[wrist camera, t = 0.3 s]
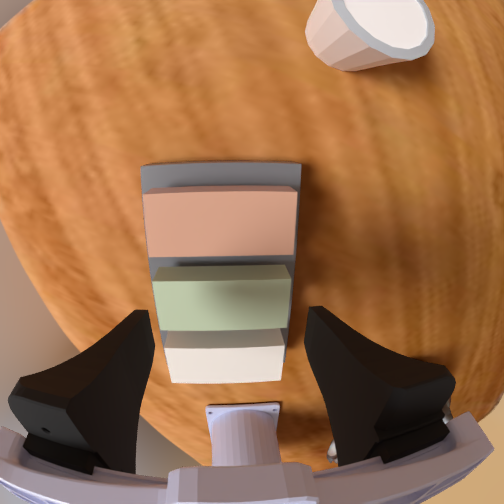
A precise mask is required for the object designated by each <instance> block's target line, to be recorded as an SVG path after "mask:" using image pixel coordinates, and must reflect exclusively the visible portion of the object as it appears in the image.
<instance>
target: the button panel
mask: <svg viewBox="0 0 504 504" xmlns="http://www.w3.org/2000/svg"><path fill="white" fill-rule="evenodd" d="M300 184H301V164H300V163H297V162H289V161H249V160H227V161H187V162H168V163H152V164H146V165H143V166H141V185H142V201H143V194H144V193H146V192H147V191H149V190H150V189H151V188H164V187H188V186H238V185H255V186H290V187H291V188H293V189H294V190H295V191H297V208H296V224H295V239H294V253H293V255H253V256H197V257H149V255H148V260H149V268H150V275H151V282H152V281H153V278H154V276H155V274H156V272H157V270H158V268H159V267H188V266H245V265H285V266H286V268H287V271H288V273H289V275H290V277H291V289H290V300H289V310H288V320H287V328H280V330H281V334H282V337H283V341H284V344H285V349H284V357H283V362H285V357H286V349H287V340H288V332H289V322H290V313H291V303H292V293H293V282H294V271H295V259H296V246H297V233H298V218H299V202H300ZM143 213H144V205H143ZM144 224H145V218H144ZM145 234H146V228H145ZM146 243H147V238H146ZM147 252H148V247H147ZM152 288H153V284H152ZM153 294H154V291H153ZM154 301H155V297H154ZM155 306H156V303H155ZM156 312H157V309H156ZM157 318H158V315H157ZM158 323H159V320H158ZM159 328H160V326H159ZM160 333H161V338H162V343H163V348H164V346H165V342H166V338H167V334H168V330H160ZM164 353H165V350H164ZM165 357H166V355H165ZM166 361H167V359H166ZM167 365H168V364H167Z"/></svg>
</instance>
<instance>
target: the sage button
mask: <svg viewBox="0 0 504 504" xmlns="http://www.w3.org/2000/svg"><path fill="white" fill-rule="evenodd" d="M152 284H153V291H154V297H155V303H156V309H157V315H158V320H159V326H160V330H169V331H218V330H253V329H273V328H287V320H288V310H289V300H290V289H291V277H290V275H289V273H288V271H287V268H286V266H285V265H245V266H188V267H159V268H158V270H157V272H156V274H155V276H154V278H153V281H152Z"/></svg>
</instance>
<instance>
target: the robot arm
mask: <svg viewBox="0 0 504 504" xmlns="http://www.w3.org/2000/svg"><path fill="white" fill-rule="evenodd" d="M304 345H305V349H306V353H307V357H308V361H309V363H310V366H311V368H312V371H313V373H314V376H315V378H316V381H317V383H318V386H319V388H320V390H321V393H322V395H323V398H324V401H325V404H326V408H327V412H328V416H329V420H330V424H331V428H332V433H333V437H334V443H335V448H336V453H337V460H338V467H336V468H332V469H327V470H322V471H317V472H312V470H311V466H308V465H305V464H302V463H298V462H284V463H282V462H281V456H280V451H279V446H278V440H277V435H276V429H277V423H278V416H279V410H280V405H279V403H277V402H274V403H261V404H244V405H209V406H206V415H207V421H208V427H209V432H210V437H211V442H212V466H192V467H181V468H178V469H175V470H173V471H171V472H169V475H168V478H158V477H149V476H142V475H136V471H135V470H136V467H135V466H136V464H135V463H136V462H135V461H136V441H137V430H138V420H139V413H140V407H141V403H142V399H143V395H144V392H145V388H146V385H147V381H148V378H149V374H150V371H151V367H152V363H153V357H154V350H155V342H154V338H153V333H152V328H151V323H150V318H149V313H148V310H134V311H133V312H132V313H131V314H129V315H128V316H127V317H126V318H125V319H124V320H123V321H122V322H120V323H119V324H118V325H117V326H116V327H115V328H114V329H112V330H111V331H110V332H109V333H108V334H106V335H105V336H104V337H103V338H101V339H100V340H99V341H98V342H96V343H95V344H94V345H92V346H91V347H89V348H88V349H86V350H85V351H83V352H82V353H80V354H79V355H77V356H75V357H73V358H71V359H69V360H68V361H65V362H63V363H61V364H59V365H57V366H55V367H52V368H50V369H47V370H44V371H42V372H38V373H35V374H32V375H28V376H24V377H20V379H19V381H18V382H17V384H16V386H15V387H14V389H13V391H12V392H11V394H10V396H9V398H8V403H9V406H10V409H11V410H12V412H13V413H14V415H15V416H16V418H17V419H18V420H19V421H20V423H21V424H22V425H23V427H24V428H25V429H26V430H27V431H28V435H27V438H25V437H24V436H22V435H21V434H19V433H17V432H14V431H12V430H10V429H7V428H5V427H1V429H0V484H1V485H2V486H4V487H5V488H6V489H7V490H9V491H10V492H11V493H13V494H14V495H15V496H17V497H18V498H20V499H22V500H24V501H26V502H28V503H30V504H420V503H422V502H424V501H426V500H428V499H429V498H431V497H433V496H435V495H437V494H439V493H440V492H442V491H444V490H445V489H447V488H449V487H451V486H452V485H454V484H456V483H457V482H459V481H460V480H462V479H463V478H465V477H466V476H467V475H468V474H469V473H471V472H472V471H473V470H474V469H475V468H476V467H477V466H478V465H479V464H480V463H482V462H483V461H484V460H485V459H486V458H487V457H488V456H489V455H490V454H491V453H492V452H493V451H494V447H493V446H492V444H491V442H490V441H489V440H488V438H487V436H486V435H485V433H484V432H483V430H482V429H481V428H480V426H479V425H478V423H477V422H476V420H475V419H474V417H473V416H472V415H471V413H470V412H469V411H467V412H465V413H463V414H461V415H459V416H457V417H455V418H453V419H452V420H450V421H449V422H448V423H446V424H445V423H444V421H443V418H444V417H445V414H444V412H443V411H442V408H443V407H444V405H445V404H446V402H447V401H448V399H449V398H450V396H451V395H452V393H453V391H454V388H455V384H456V381H455V378H454V377H453V376H452V374H451V373H450V372H449V370H448V369H447V368H446V367H445V366H444V365H438V364H433V363H428V362H423V361H420V360H416V359H413V358H409V357H407V356H404V355H401V354H398V353H396V352H393V351H391V350H389V349H387V348H384V347H383V346H381V345H379V344H377V343H375V342H373V341H371V340H369V339H368V338H366V337H365V336H363V335H361V334H360V333H358V332H357V331H355V330H354V329H352V328H351V327H350V326H348V325H347V324H345V323H344V322H343V321H341V320H340V319H339V318H338V317H336V316H335V315H334V314H332V313H331V312H330V311H328V310H327V309H326V308H324V307H323V306H314V307H309V311H308V318H307V325H306V332H305V338H304Z"/></svg>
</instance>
